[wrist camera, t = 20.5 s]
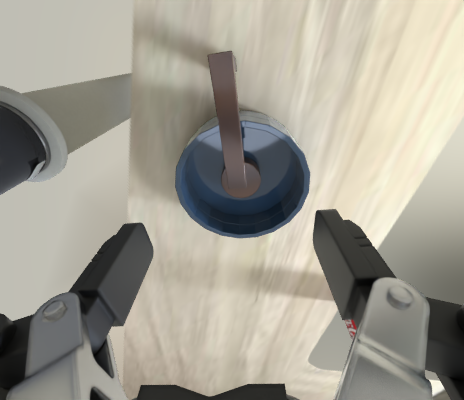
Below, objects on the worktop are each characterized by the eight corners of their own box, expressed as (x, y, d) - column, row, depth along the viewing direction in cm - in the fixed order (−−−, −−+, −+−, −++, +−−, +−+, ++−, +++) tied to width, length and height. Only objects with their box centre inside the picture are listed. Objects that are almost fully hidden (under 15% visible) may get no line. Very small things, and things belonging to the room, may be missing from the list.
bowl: (198, 219, 32) (192, 241, 28) (170, 119, 24) (157, 131, 20) (298, 211, 31) (306, 233, 27) (302, 101, 23) (314, 111, 19)
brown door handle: (261, 189, 28) (266, 225, 21) (225, 192, 28) (219, 229, 22) (251, 54, 21) (254, 46, 14) (203, 62, 21) (185, 58, 15)
